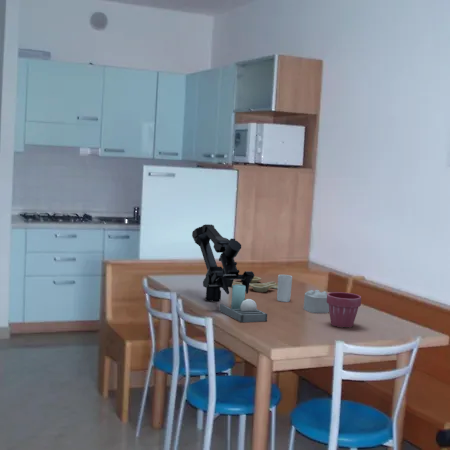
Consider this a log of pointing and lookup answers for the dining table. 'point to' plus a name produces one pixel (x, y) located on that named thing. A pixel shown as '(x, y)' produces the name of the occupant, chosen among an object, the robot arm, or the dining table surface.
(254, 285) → the tableware set
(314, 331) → the dining table surface
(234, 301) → the aqua tapered cylinder
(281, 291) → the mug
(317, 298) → the lumpy-topped squat cylinder
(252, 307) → the white half-round piece
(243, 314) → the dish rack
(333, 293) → the plant pot
